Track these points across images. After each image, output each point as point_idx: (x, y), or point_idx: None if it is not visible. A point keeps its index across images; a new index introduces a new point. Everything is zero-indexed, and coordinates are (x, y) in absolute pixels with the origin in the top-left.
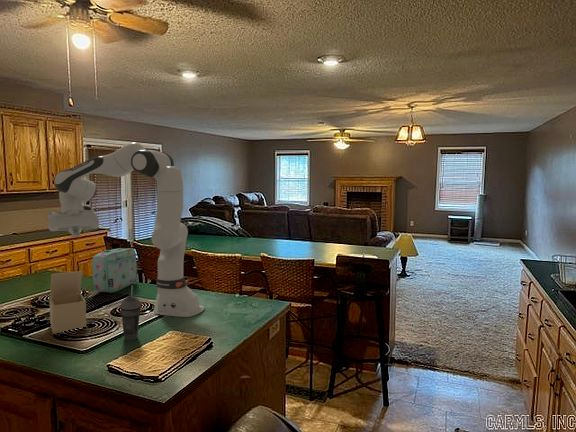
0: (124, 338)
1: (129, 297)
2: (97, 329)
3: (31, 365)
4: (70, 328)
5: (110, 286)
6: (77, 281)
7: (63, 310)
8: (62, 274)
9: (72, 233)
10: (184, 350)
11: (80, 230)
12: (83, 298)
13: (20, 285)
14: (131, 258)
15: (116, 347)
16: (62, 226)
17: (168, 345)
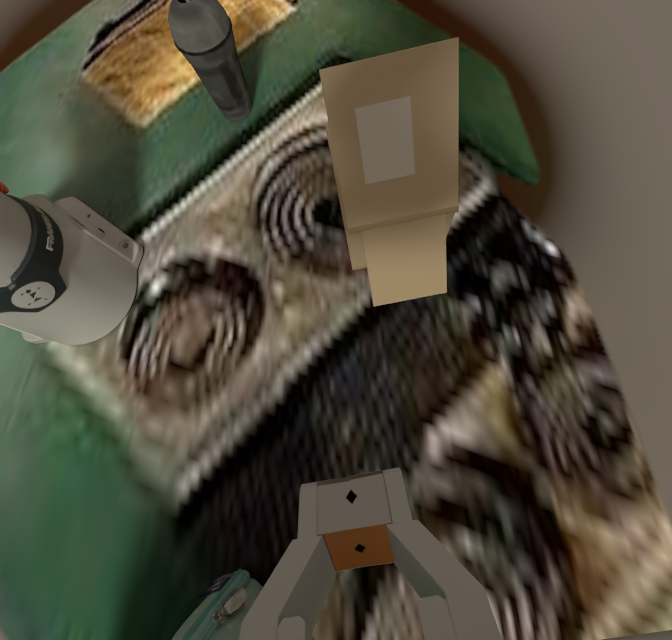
0: (251, 103)
1: (189, 19)
2: (308, 179)
3: (436, 28)
4: None
5: (227, 574)
6: (349, 143)
7: None
8: (409, 53)
9: (406, 495)
10: (152, 28)
11: (277, 564)
12: (333, 159)
13: None
14: None
15: (273, 68)
16: (662, 631)
17: (173, 54)
